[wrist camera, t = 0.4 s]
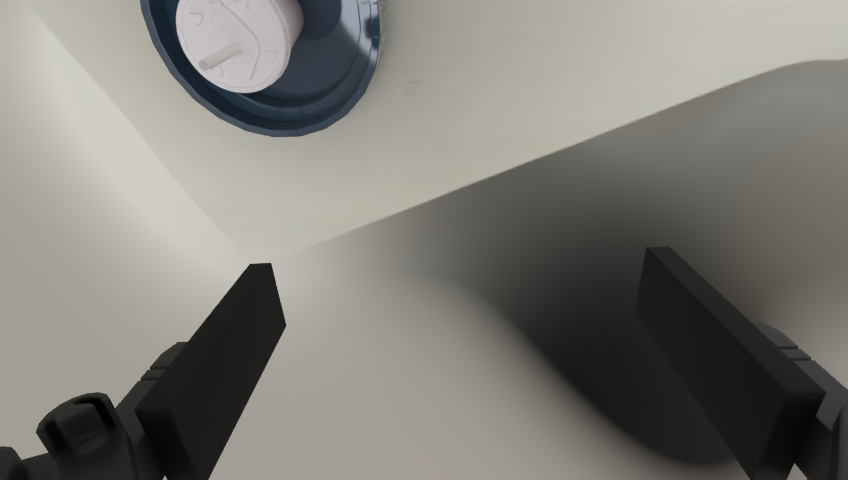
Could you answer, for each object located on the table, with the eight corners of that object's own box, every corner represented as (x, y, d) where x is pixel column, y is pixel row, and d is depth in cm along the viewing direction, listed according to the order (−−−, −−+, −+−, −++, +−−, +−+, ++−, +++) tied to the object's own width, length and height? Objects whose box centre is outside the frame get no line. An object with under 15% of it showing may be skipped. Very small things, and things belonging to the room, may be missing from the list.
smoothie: (260, 69, 35) (177, 129, 24) (220, -19, 32) (101, 2, 20) (334, 48, 34) (284, 100, 23) (301, -46, 31) (222, -40, 19)
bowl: (241, -190, 27) (211, -212, 23) (429, 10, 33) (428, 19, 29) (136, 19, 34) (99, 28, 30) (307, 154, 40) (295, 175, 36)
